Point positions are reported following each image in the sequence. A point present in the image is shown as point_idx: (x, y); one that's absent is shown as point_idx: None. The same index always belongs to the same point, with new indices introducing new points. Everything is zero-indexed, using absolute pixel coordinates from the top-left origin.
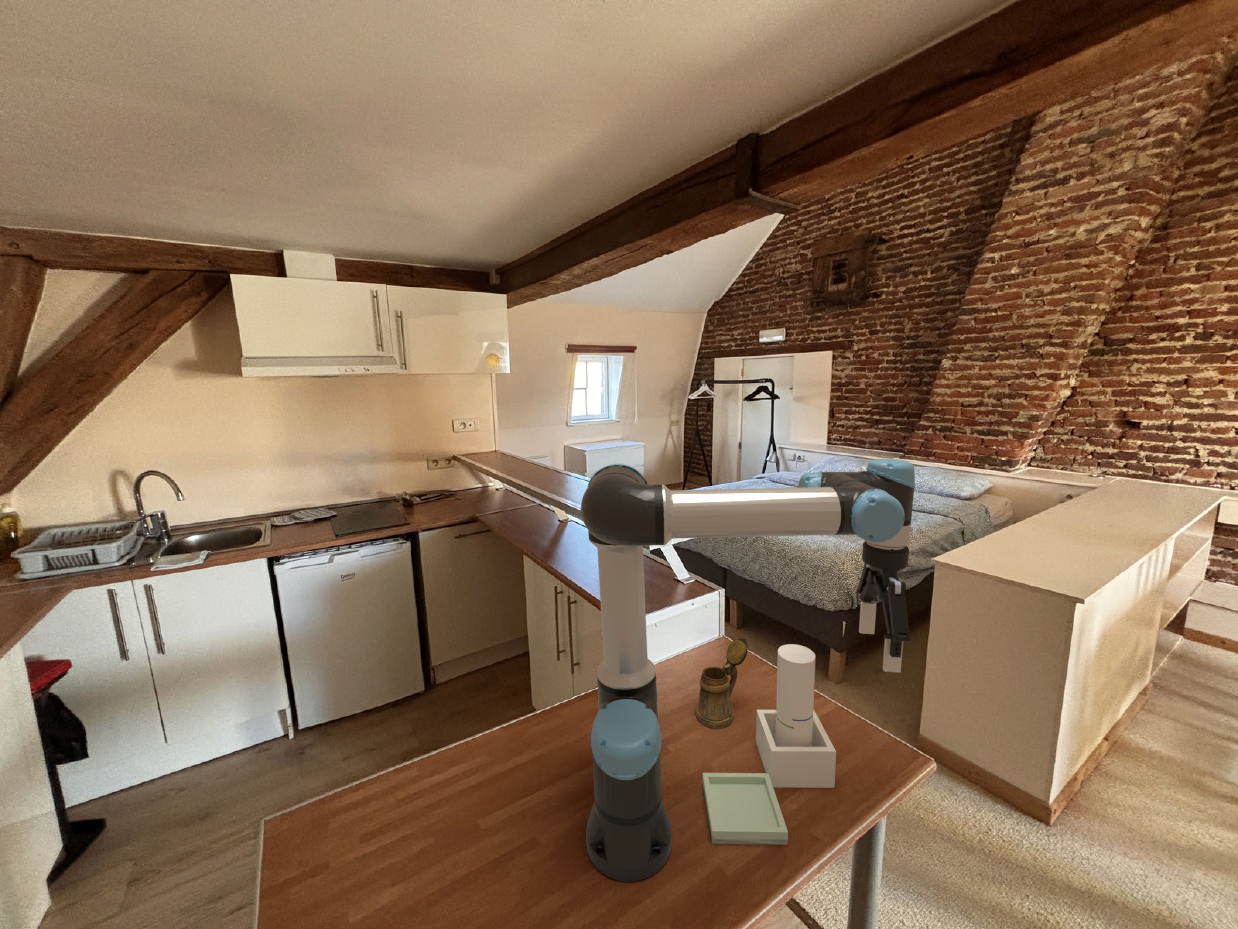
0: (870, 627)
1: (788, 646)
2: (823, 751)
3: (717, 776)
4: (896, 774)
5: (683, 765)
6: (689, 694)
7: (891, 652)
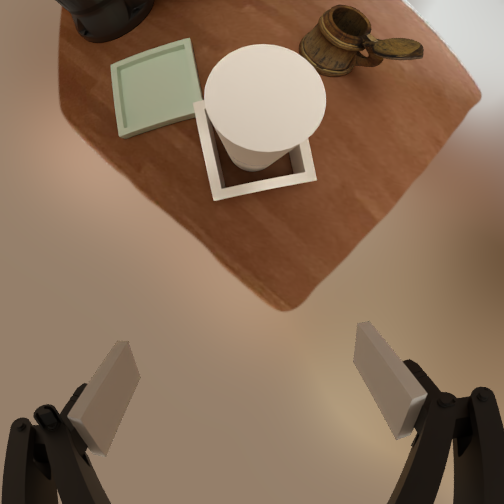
0: (363, 364)
1: (306, 76)
2: (209, 181)
3: (186, 53)
4: (262, 281)
5: (219, 22)
6: None
7: (81, 392)
